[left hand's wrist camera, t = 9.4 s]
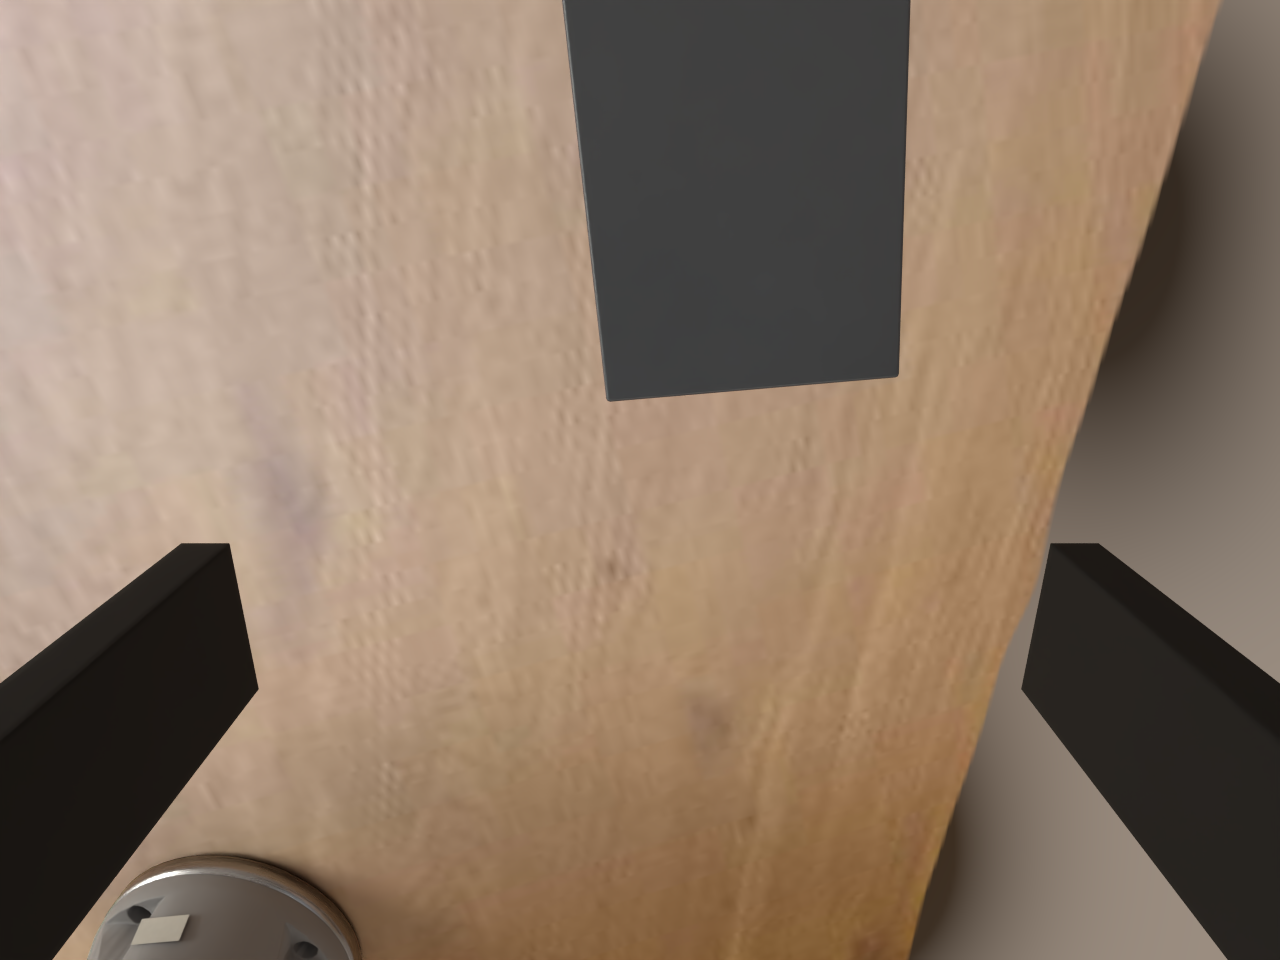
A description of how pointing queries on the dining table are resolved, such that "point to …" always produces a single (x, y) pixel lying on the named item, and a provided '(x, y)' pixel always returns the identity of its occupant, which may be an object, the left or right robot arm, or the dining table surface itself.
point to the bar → (742, 189)
